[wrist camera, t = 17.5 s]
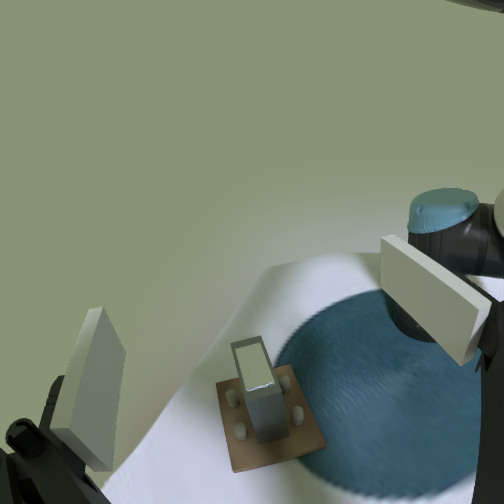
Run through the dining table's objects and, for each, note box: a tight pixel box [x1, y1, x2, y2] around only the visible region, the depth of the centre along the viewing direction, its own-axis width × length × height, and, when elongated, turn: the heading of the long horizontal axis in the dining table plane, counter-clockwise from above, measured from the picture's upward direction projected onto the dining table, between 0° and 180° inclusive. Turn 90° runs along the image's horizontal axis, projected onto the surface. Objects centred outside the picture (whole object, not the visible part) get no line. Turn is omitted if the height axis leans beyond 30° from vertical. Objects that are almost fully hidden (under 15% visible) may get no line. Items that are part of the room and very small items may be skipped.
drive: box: [231, 336, 289, 445], centre depth 37 cm, size 4×10×10 cm, turn 12°
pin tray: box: [216, 364, 326, 473], centre depth 39 cm, size 12×16×4 cm
